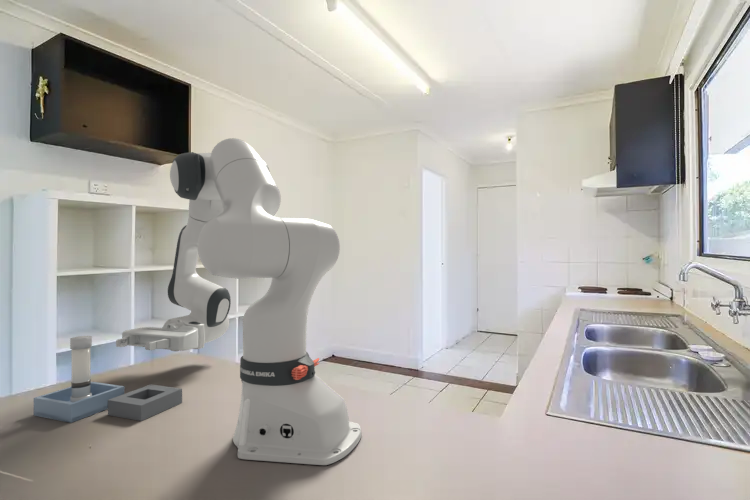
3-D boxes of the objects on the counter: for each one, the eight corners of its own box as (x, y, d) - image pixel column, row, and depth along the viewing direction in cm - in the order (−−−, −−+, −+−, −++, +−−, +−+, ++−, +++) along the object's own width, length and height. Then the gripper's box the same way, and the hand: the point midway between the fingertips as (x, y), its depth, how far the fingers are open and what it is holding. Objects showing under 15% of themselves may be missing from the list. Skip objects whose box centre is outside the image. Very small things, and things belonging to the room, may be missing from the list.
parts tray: (124, 402, 87) (124, 386, 87) (71, 422, 77) (71, 404, 77) (88, 396, 91) (88, 381, 91) (33, 415, 81) (33, 397, 81)
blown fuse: (95, 402, 85) (95, 336, 85) (78, 409, 82) (78, 340, 82) (84, 400, 86) (83, 335, 86) (66, 406, 83) (66, 338, 83)
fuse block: (182, 402, 87) (182, 388, 87) (141, 421, 78) (141, 405, 78) (150, 397, 90) (150, 384, 90) (107, 414, 81) (107, 399, 81)
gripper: (149, 319, 112) (101, 329, 99) (208, 324, 105) (164, 334, 92) (149, 342, 112) (101, 354, 99) (208, 348, 105) (165, 362, 92)
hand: (132, 345), depth 95 cm, fingers open, 8 cm apart
